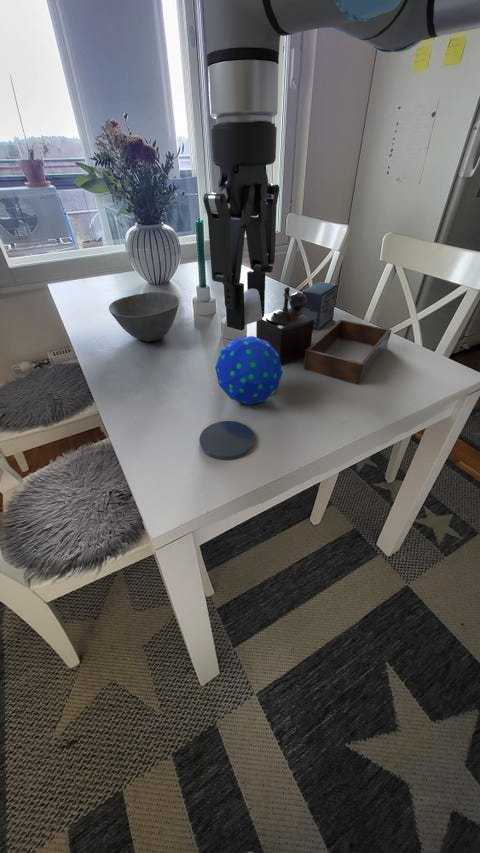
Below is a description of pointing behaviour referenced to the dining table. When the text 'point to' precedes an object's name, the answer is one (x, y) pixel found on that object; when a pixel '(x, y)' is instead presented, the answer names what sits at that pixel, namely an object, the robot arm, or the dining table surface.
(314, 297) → the small box
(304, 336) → the pepper mill
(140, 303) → the bowl
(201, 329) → the dining table surface
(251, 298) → the gemstone
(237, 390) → the blue polka dot ball
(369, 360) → the open box
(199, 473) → the dining table surface
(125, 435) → the dining table surface
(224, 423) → the coaster
